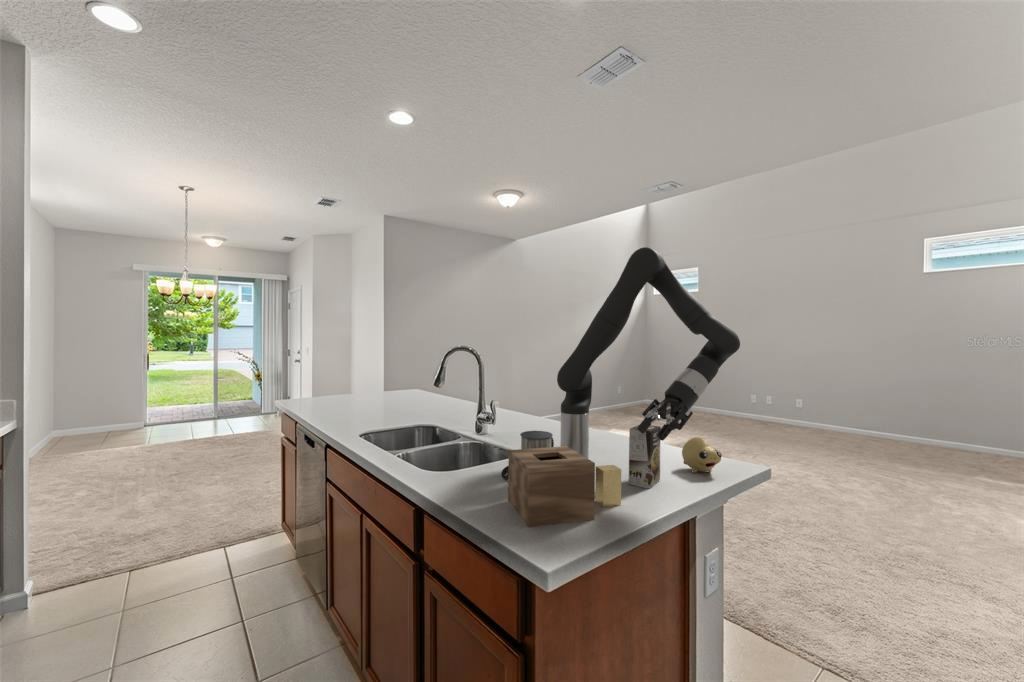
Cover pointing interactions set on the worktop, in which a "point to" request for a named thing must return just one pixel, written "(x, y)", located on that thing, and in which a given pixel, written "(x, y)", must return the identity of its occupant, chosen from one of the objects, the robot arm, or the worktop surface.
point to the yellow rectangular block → (608, 485)
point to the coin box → (551, 485)
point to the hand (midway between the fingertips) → (649, 434)
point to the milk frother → (533, 443)
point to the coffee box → (644, 457)
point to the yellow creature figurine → (700, 455)
